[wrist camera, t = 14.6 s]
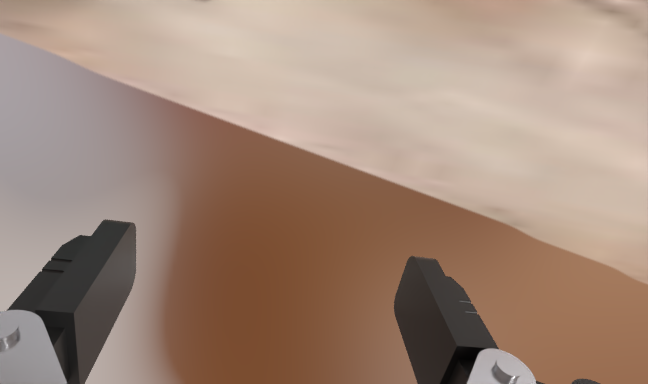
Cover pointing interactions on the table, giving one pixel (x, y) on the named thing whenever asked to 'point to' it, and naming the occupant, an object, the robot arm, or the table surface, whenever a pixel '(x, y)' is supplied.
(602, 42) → the table surface
